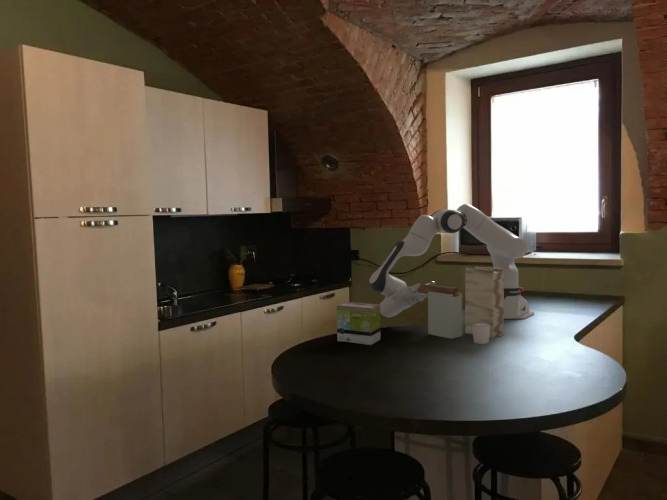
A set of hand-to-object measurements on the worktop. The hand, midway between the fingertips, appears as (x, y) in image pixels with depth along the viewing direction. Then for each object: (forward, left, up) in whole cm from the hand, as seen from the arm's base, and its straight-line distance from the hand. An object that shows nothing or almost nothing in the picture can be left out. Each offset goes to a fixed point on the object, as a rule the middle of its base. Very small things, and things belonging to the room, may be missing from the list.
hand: (426, 283), depth 227 cm
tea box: (+32, -8, -21) cm, 39 cm away
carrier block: (0, +9, -20) cm, 22 cm away
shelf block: (-13, +19, -20) cm, 31 cm away
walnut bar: (0, +6, -4) cm, 7 cm away
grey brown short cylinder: (0, +27, -21) cm, 34 cm away
